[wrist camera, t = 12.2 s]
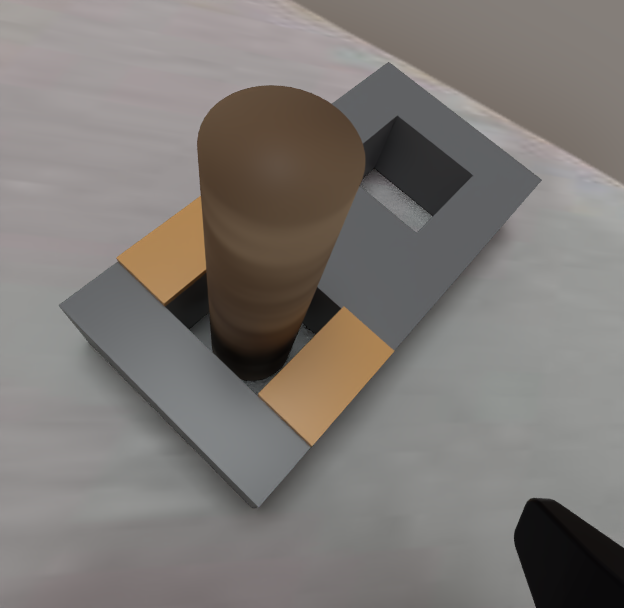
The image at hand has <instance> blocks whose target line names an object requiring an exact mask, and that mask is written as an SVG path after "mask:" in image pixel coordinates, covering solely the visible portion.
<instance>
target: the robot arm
mask: <svg viewBox="0 0 624 608" xmlns="http://www.w3.org/2000/svg"><path fill="white" fill-rule="evenodd" d="M514 543H515V547H516V550H517V553H518V556H519V559H520V562H521V565H522V568H523V571H524V574H525V577H526V580H527V583H528V586H529V589H530V591H531V594H532V597H533V600H534V603H535V606H536V608H624V548H623V547H622V546H620V545H619V544H617V543H616V542H614V541H613V540H612V539H610V538H609V537H607V536H606V535H604V534H603V533H601V532H600V531H598V530H597V529H596V528H594V527H593V526H591V525H590V524H588V523H587V522H585V521H584V520H583V519H581V518H580V517H578V516H577V515H575V514H574V513H572V512H571V511H570V510H568V509H567V508H565V507H564V506H562V505H561V504H559V503H558V502H556V501H555V500H552V499H545V498H531V499H530V500H528V501H527V503H526V505H525V507H524V509H523V512H522V514H521V517H520V519H519V522H518V524H517V526H516V529H515V532H514Z"/></svg>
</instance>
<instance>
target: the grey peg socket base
mask: <svg viewBox="0 0 624 608" xmlns="http://www.w3.org/2000/svg"><path fill="white" fill-rule="evenodd" d="M332 105H333V106H335V107H336V108H338V109H339V110H340V111H341V112H342V113H343V114H344V115H345V116H346V117H347V118H348V119H349V120H350V121H351V123H352V124H353V126H354V127H355V129H356V130H357V132H358V134H359V136H360V138H361V141H362V143H363V146H364V151H365V171H364V175H363V177H364V176H365V175H367V174H368V173H369V172H370V171H371V170H372V169H373V168H375V169H376V170H378V171H379V172H380V173H381V174H383V175H384V176H385V177H386V178H387V179H389V180H390V181H391V182H392V183H394V184H395V185H396V186H397V187H398V188H400V189H401V190H402V191H403V192H404V193H406V194H407V195H408V196H409V197H411V198H412V199H413V200H414V201H415V202H417V203H418V204H419V205H420V206H422V207H423V208H424V209H425V210H426V211H428V212H429V213H430V214H431V215H433V217H432V218H431V219H430V220H429V221H428V222H427V223H426V224H425V225H424V226H423V227H422V228H421V229H420V230H419V231H418V232H417V233H416V232H415V231H413V230H412V229H411V228H410V227H409V226H407V225H406V224H405V223H404V222H403V221H401V220H400V219H399V218H398V217H397V216H395V215H394V214H393V213H392V212H391V211H389V210H388V209H387V208H386V207H385V206H383V205H382V204H381V203H380V202H379V201H377V200H376V199H375V198H374V197H373V196H371V195H370V194H369V193H368V192H367V191H365V190H364V189H363V188H362V187H360V186H359V188H358V191H357V193H356V195H355V198H354V200H353V203H352V205H351V207H350V210H349V212H348V214H347V217H346V219H345V222H344V224H343V226H342V229H341V231H340V234H339V236H338V238H337V241H336V243H335V246H334V248H333V250H332V253H331V255H330V257H329V260H328V262H327V265H326V267H325V269H324V272H323V274H322V277H321V279H320V281H319V284H318V286H317V289H316V291H315V293H314V296H313V298H312V300H311V303H310V305H309V308H308V310H307V312H306V315H305V317H304V320H303V323H304V324H305V325H306V326H307V327H308V328H309V329H310V330H311V331H312V332H314V333H315V334H316V335H315V336H314V337H313V338H312V339H311V340H310V341H309V342H308V343H307V344H306V345H305V346H304V347H303V348H302V349H301V350H300V351H299V352H298V354H297V355H296V356H295V357H294V358H293V359H292V360H291V361H290V362H289V363H288V364H287V365H286V366H285V367H284V368H283V369H282V370H281V371H280V372H279V373H278V374H277V375H276V376H275V377H274V378H273V379H272V380H271V381H270V382H269V383H268V384H267V385H266V386H265V387H264V388H263V389H262V390H261V391H260V392H259V393H258V395H256V394H255V393H254V392H253V391H252V390H251V389H250V388H249V387H248V386H247V385H246V384H245V383H244V382H243V381H242V380H241V379H240V378H239V377H237V376H236V375H235V374H234V373H233V372H232V371H231V370H230V369H229V368H228V367H227V366H226V365H225V364H224V363H223V362H222V361H221V360H220V359H219V358H218V357H217V356H216V355H215V354H214V353H213V352H211V351H210V350H209V349H208V348H207V347H206V346H205V345H204V344H203V343H202V342H201V341H200V340H199V339H198V338H197V337H196V336H195V335H194V334H193V333H192V332H191V331H190V330H189V329H190V328H191V327H192V326H193V325H194V324H195V323H196V322H198V321H199V320H200V319H201V318H202V317H203V316H204V315H206V314H207V313H208V312H209V299H208V286H207V272H206V259H205V245H204V232H203V218H202V205H201V196H200V197H199V198H197V199H196V200H194V201H193V202H192V203H190V204H189V205H188V206H186V207H185V208H184V209H182V210H181V211H179V212H178V213H177V214H175V215H174V216H173V217H171V218H170V219H168V220H167V221H166V222H164V223H163V224H162V225H160V226H159V227H158V228H156V229H155V230H153V231H152V232H151V233H149V234H148V235H147V236H145V237H144V238H143V239H141V240H140V241H138V242H137V243H136V244H134V245H133V246H132V247H130V248H129V249H128V250H126V251H125V252H123V253H122V254H121V255H119V256H118V257H117V261H118V262H117V263H115V264H114V265H112V266H111V267H110V268H108V269H107V270H106V271H104V272H103V273H102V274H100V275H99V276H98V277H96V278H95V279H93V280H92V281H91V282H89V283H88V284H87V285H85V286H84V287H83V288H81V289H80V290H79V291H77V292H76V293H74V294H73V295H72V296H70V297H69V298H68V299H66V300H65V301H64V302H62V303H61V304H60V305H59V307H60V308H61V309H62V310H63V312H64V313H65V314H66V315H67V316H68V318H69V319H70V320H71V321H72V323H73V324H74V325H75V326H76V328H77V329H78V330H79V331H80V332H81V334H82V335H83V336H84V337H85V339H86V340H87V341H88V342H89V343H90V344H91V345H92V346H93V347H94V348H95V349H96V350H97V351H98V352H99V353H100V354H101V355H102V356H103V357H104V358H105V359H106V360H107V361H108V362H109V363H110V364H111V365H112V366H113V367H114V368H115V369H116V370H117V371H118V372H119V374H120V375H121V376H122V377H123V378H124V379H125V380H126V381H127V382H128V383H129V384H130V385H131V386H132V387H133V388H134V389H135V390H136V391H137V392H138V393H139V394H140V395H141V396H142V397H143V398H144V399H145V400H146V401H147V402H148V403H149V404H150V405H151V406H152V407H153V408H154V409H155V410H156V411H157V412H158V413H159V414H160V415H161V416H162V417H163V418H164V419H165V420H166V421H167V422H168V423H169V424H170V425H171V426H172V427H173V428H174V429H175V430H176V431H177V432H178V433H179V434H180V435H181V436H182V437H183V438H184V439H185V440H186V441H187V442H188V443H189V444H190V445H191V446H192V447H193V448H194V449H195V450H196V451H197V452H198V454H199V455H200V456H201V457H202V458H203V459H204V460H205V461H206V462H207V463H208V464H209V465H210V466H211V467H212V468H213V469H214V470H215V471H216V472H217V473H218V474H219V475H220V476H221V477H222V478H223V479H224V480H225V481H226V482H227V483H228V484H229V485H230V486H231V487H232V488H233V489H234V490H235V491H236V492H237V493H238V494H239V495H240V496H241V497H242V498H243V499H244V500H245V501H246V502H247V503H248V504H249V505H250V506H251V507H252V508H257V507H259V506H260V505H261V504H262V503H263V502H264V501H265V500H266V498H267V497H268V496H269V495H270V494H271V493H272V491H273V490H274V489H275V488H276V487H277V486H278V484H279V483H280V482H281V481H282V480H283V479H284V478H285V476H286V475H287V474H288V473H289V472H290V471H291V469H292V468H293V467H294V466H295V465H296V464H297V463H298V461H299V460H300V459H301V458H302V457H303V456H304V454H305V453H306V452H307V451H308V450H309V449H310V447H312V446H313V445H314V444H315V442H316V441H317V440H318V439H319V438H320V437H321V435H322V434H323V433H324V432H325V431H326V430H327V428H328V427H329V426H330V425H331V424H332V423H333V422H334V420H335V419H336V418H337V417H338V416H339V415H340V413H341V412H342V411H343V410H344V409H345V408H346V406H347V405H348V404H349V403H350V402H351V401H352V400H353V398H354V397H355V396H356V395H357V394H358V393H359V391H360V390H361V389H362V388H363V387H364V386H365V385H366V383H367V382H368V381H369V380H370V379H371V378H372V376H373V375H374V374H375V373H376V372H377V371H378V369H379V368H380V367H381V366H382V365H383V364H384V363H385V361H386V360H387V359H388V358H389V357H390V356H391V354H392V353H393V352H394V350H395V349H396V348H397V347H398V346H399V345H400V343H401V342H402V341H403V340H404V339H405V338H406V337H407V335H408V334H409V333H410V332H411V331H412V330H413V328H414V327H415V326H416V325H417V324H418V323H419V321H420V320H421V319H422V318H423V317H424V316H425V315H426V313H427V312H428V311H429V310H430V309H431V308H432V306H433V305H434V304H435V303H436V302H437V301H438V300H439V298H440V297H441V296H442V295H443V294H444V293H445V291H446V290H447V289H448V288H449V287H450V286H451V285H452V283H453V282H454V281H455V280H456V279H457V278H458V276H459V275H460V274H461V273H462V272H463V271H464V269H465V268H466V267H467V266H468V265H469V264H470V263H471V261H472V260H473V259H474V258H475V257H476V256H477V254H478V253H479V252H480V251H481V250H482V249H483V248H484V246H485V245H486V244H487V243H488V242H489V241H490V239H491V238H492V237H493V236H494V235H495V234H496V232H497V231H498V230H499V229H500V228H501V227H502V226H503V224H504V223H505V222H506V221H507V220H508V219H509V217H510V216H511V215H512V214H513V213H514V212H515V211H516V209H517V208H518V207H519V206H520V205H521V204H522V202H523V201H524V200H525V199H526V198H527V197H528V196H529V194H530V193H531V192H532V191H533V190H534V189H535V187H536V186H537V185H538V184H539V183H540V182H541V179H540V178H539V177H537V176H536V175H535V174H534V173H532V172H531V171H530V170H528V169H527V168H526V167H524V166H523V165H522V164H521V163H519V162H518V161H517V160H515V159H514V158H513V157H512V156H510V155H509V154H508V153H506V152H505V151H504V150H502V149H501V148H500V147H499V146H497V145H496V144H495V143H493V142H492V141H491V140H489V139H488V138H487V137H486V136H484V135H483V134H482V133H480V132H479V131H478V130H476V129H475V128H474V127H473V126H471V125H470V124H469V123H467V122H466V121H465V120H463V119H462V118H461V117H460V116H458V115H457V114H456V113H454V112H453V111H452V110H450V109H449V108H448V107H447V106H445V105H444V104H443V103H441V102H440V101H439V100H437V99H436V98H435V97H434V96H432V95H431V94H430V93H428V92H427V91H426V90H424V89H423V88H422V87H421V86H419V85H418V84H417V83H415V82H414V81H413V80H411V79H410V78H409V77H408V76H406V75H405V74H404V73H402V72H401V71H400V70H399V69H397V68H396V67H395V66H393V65H392V64H391V63H389V62H388V63H386V64H385V65H384V66H382V67H381V68H380V69H378V70H377V71H376V72H374V73H373V74H372V75H370V76H369V77H367V78H366V79H365V80H363V81H362V82H361V83H359V84H358V85H357V86H355V87H354V88H353V89H351V90H350V91H348V92H347V93H346V94H344V95H343V96H342V97H340V98H339V99H338V100H336V101H335V102H334V103H332Z"/></svg>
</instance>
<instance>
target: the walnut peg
mask: <svg viewBox="0 0 624 608" xmlns="http://www.w3.org/2000/svg"><path fill="white" fill-rule="evenodd" d="M197 150H198V164H199V177H200V191H201V205H202V218H203V232H204V245H205V259H206V272H207V286H208V299H209V313H210V326H211V340H212V350H213V353H214V354H215V355H216V356H217V357H218V358H219V359H220V360H221V361H222V362H223V363H224V364H225V365H226V366H227V367H228V368H229V369H230V370H231V371H232V372H233V373H234V374H235V375H236V376H237V377H239V378H240V379H242V380H248V381H254V380H261V379H264V378H267V377H269V376H271V375H273V374H274V373H276V372H277V371H278V370H279V369H280V368H281V367H282V366H283V365H284V363H285V362H286V360H287V358H288V355H289V353H290V351H291V348H292V346H293V343H294V341H295V339H296V336H297V334H298V332H299V329H300V327H301V324H302V322H303V320H304V317H305V315H306V312H307V310H308V308H309V305H310V303H311V300H312V298H313V296H314V293H315V291H316V289H317V286H318V284H319V281H320V279H321V277H322V274H323V272H324V269H325V267H326V265H327V262H328V260H329V257H330V255H331V253H332V250H333V248H334V246H335V243H336V241H337V238H338V236H339V234H340V231H341V229H342V226H343V224H344V222H345V219H346V217H347V214H348V212H349V210H350V207H351V205H352V203H353V200H354V198H355V195H356V193H357V191H358V188H359V186H360V183H361V181H362V178H363V175H364V171H365V151H364V146H363V143H362V141H361V138H360V136H359V134H358V132H357V130H356V129H355V127H354V126H353V124H352V123H351V121H350V120H349V119H348V118H347V117H346V116H345V115H344V114H343V113H342V112H341V111H340V110H339V109H338V108H336V107H335V106H333V105H332V104H331V103H329V102H328V101H326V100H324V99H322V98H321V97H319V96H316V95H314V94H312V93H309V92H306V91H303V90H300V89H296V88H292V87H285V86H273V85H269V86H257V87H251V88H247V89H243V90H240V91H238V92H235V93H233V94H231V95H229V96H227V97H225V98H224V99H222V100H221V101H220V102H218V103H217V104H216V105H215V106H214V107H213V108H212V109H211V110H210V111H209V112H208V114H207V115H206V117H205V118H204V120H203V122H202V124H201V127H200V130H199V133H198V140H197Z"/></svg>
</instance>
